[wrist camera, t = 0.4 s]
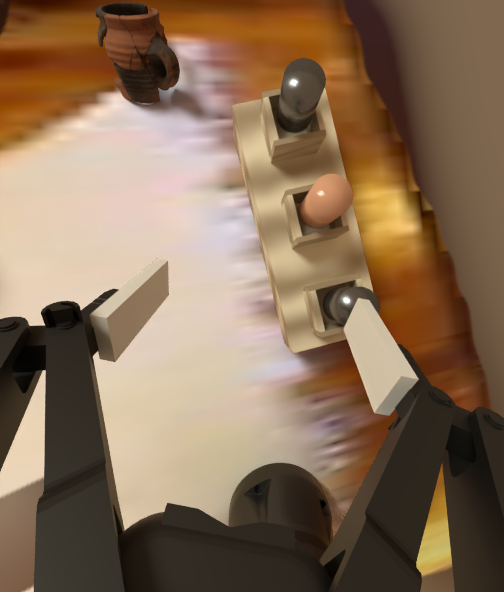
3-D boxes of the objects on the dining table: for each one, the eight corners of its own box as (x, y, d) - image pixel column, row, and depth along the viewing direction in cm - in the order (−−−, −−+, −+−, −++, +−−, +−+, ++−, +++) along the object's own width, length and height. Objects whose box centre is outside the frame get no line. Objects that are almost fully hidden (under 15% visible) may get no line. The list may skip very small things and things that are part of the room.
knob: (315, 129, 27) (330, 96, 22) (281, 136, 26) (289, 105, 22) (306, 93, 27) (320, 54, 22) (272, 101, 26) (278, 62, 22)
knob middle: (338, 224, 27) (357, 210, 23) (304, 232, 27) (316, 220, 22) (329, 189, 27) (347, 169, 22) (296, 197, 27) (306, 179, 22)
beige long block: (359, 323, 37) (400, 334, 27) (284, 343, 36) (300, 361, 27) (310, 120, 36) (335, 58, 26) (233, 137, 35) (231, 80, 26)
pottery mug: (103, 94, 35) (69, 7, 28) (148, 74, 39) (129, -5, 32) (166, 119, 33) (147, 31, 25) (207, 95, 37) (200, 14, 30)
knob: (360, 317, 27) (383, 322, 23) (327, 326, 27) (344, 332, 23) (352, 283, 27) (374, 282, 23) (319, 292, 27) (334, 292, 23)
